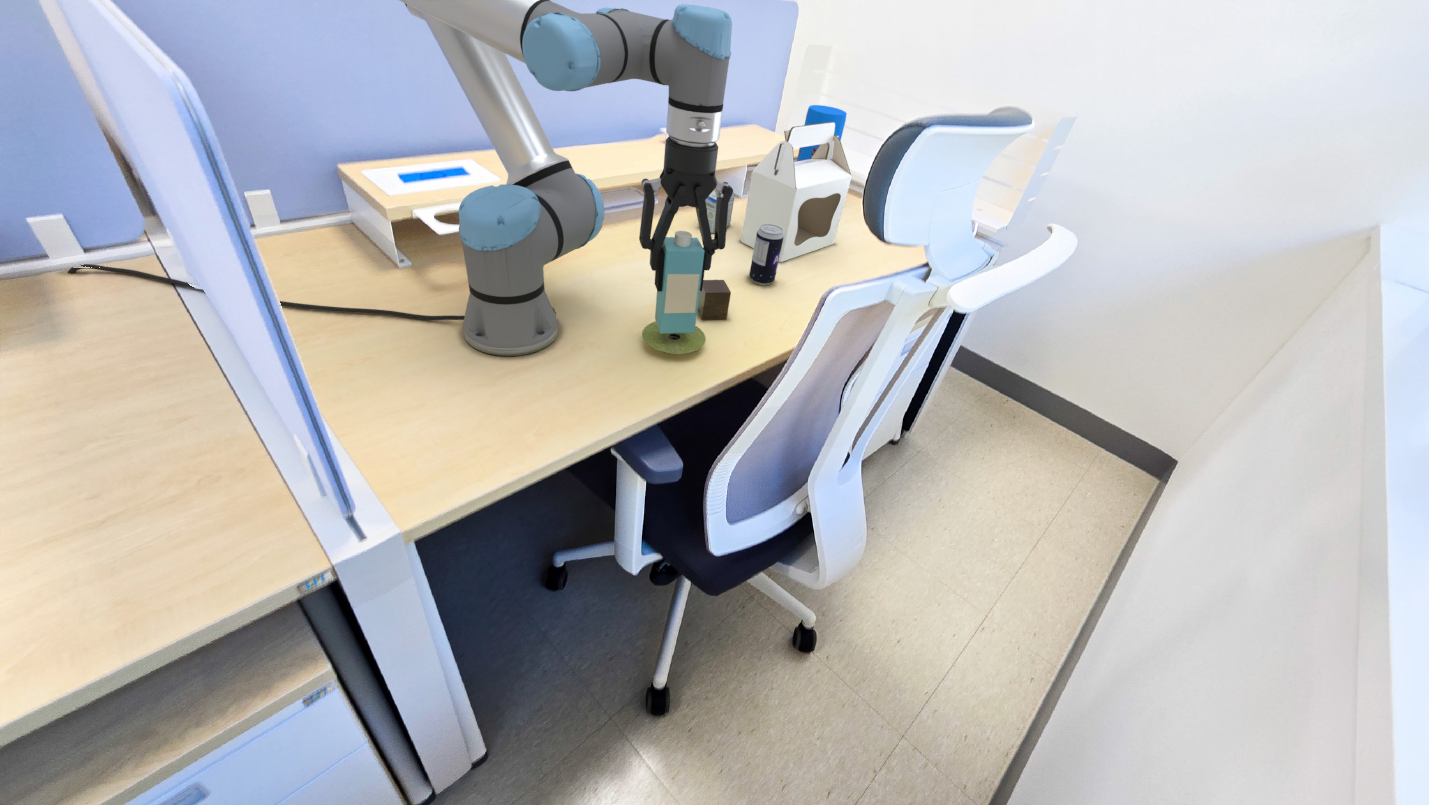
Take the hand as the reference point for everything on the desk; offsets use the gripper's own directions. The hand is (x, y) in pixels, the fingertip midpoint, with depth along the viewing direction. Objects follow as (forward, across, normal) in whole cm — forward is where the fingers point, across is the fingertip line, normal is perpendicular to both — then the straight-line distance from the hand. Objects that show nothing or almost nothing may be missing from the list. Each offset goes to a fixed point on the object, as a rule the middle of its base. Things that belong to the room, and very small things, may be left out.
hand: (678, 287), depth 95 cm
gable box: (+12, +39, +44) cm, 60 cm away
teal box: (+5, 0, +5) cm, 7 cm away
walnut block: (+12, +10, +11) cm, 19 cm away
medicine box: (+12, +22, +53) cm, 59 cm away
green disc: (+12, 0, 0) cm, 12 cm away
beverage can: (+12, +25, +24) cm, 37 cm away
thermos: (+12, +57, +75) cm, 95 cm away
